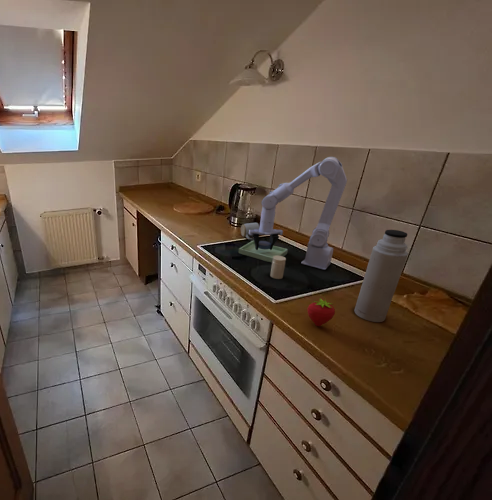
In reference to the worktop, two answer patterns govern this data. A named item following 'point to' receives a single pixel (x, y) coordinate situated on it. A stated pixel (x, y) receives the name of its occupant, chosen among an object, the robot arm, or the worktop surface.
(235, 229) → the worktop surface
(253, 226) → the ceramic mug
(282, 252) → the tray
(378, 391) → the worktop surface
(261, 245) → the jar lid
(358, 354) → the worktop surface
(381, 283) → the thermos bottle
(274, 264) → the jar
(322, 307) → the strawberry
